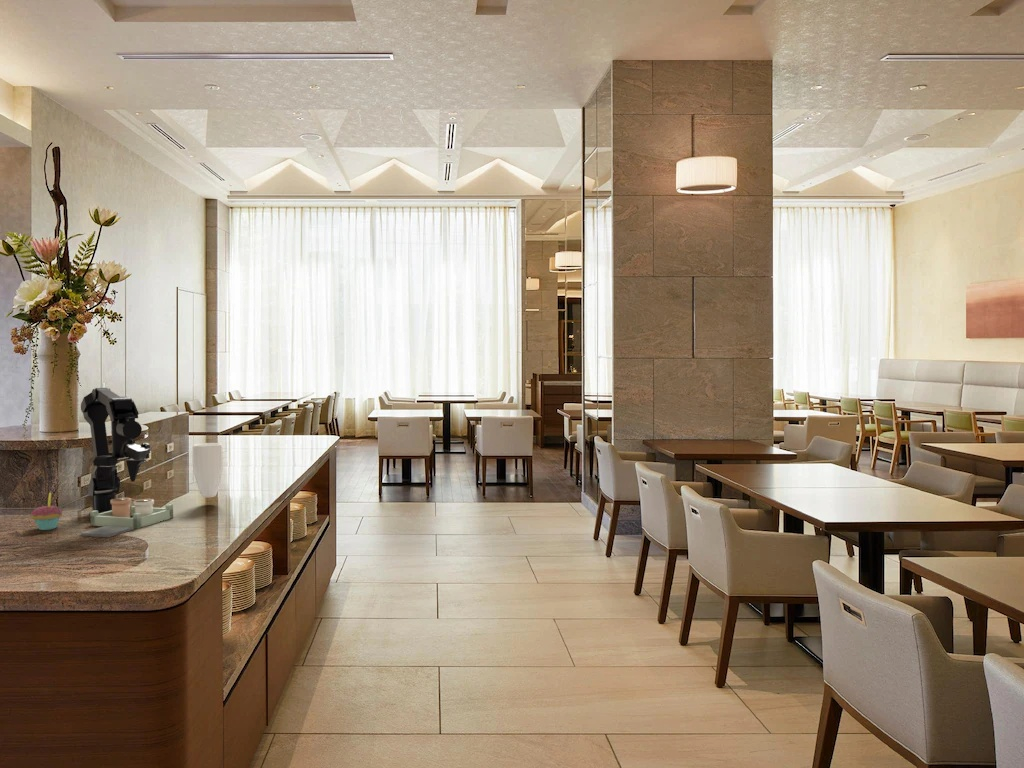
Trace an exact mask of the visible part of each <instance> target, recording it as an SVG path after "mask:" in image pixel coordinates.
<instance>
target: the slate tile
mask: <svg viewBox="0 0 1024 768" xmlns="http://www.w3.org/2000/svg"><path fill="white" fill-rule="evenodd" d="M133 530H134V528H133V527H120V526H98V527H97V528H93V529H89V530H86V531H83V532H80V536H82V537H94V538H95V537H96V538H110V537H111V538H112V537H114V536H117V535H120V534H124V533H128V532H131V531H133Z"/></svg>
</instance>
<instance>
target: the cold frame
mask: <svg viewBox="0 0 1024 768" xmlns="http://www.w3.org/2000/svg"><path fill="white" fill-rule="evenodd" d="M89 515H90V526H95V527H96V526H97V527H103V526H120V527H133V529H141V528H144V527H147V526H151V525H155V524H157V523H161V522H163V520H164V521H167V520H170V518H171V519H174V504H170V503H169V504H165V507H153V514H150V515H146V516H143V517H141V513H135V506H134V505H133V501H131V503H130V518H128V517H113V516H112V510H111V511H107V512H103V513H98V511H95V510H94V511H93V510H90V511H89ZM131 516H132V517H131ZM160 521H161V522H160Z"/></svg>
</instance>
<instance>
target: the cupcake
mask: <svg viewBox="0 0 1024 768" xmlns="http://www.w3.org/2000/svg"><path fill="white" fill-rule="evenodd" d="M47 498H48V501H47V505H42V506H39V507H36V508H35V509H33V510H32V511H31V513H30V516H29V517H30V518H31V520H33V521H35V524H36V526H37V528H38V530H39V531H40V530H41V531H43V530H44V531H46V530H47V531H48V530H49V531H50V530H54V529H56V528H57V527H58V523H59V521H60V518H61V516H63V510H62V509H61V508H59V506H56V505H51V501H52V491H51V490H50V491H49V493H48V497H47Z"/></svg>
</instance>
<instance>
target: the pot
mask: <svg viewBox="0 0 1024 768" xmlns="http://www.w3.org/2000/svg"><path fill="white" fill-rule="evenodd" d="M154 504H155V499H153V498H144V499H137V500H136V499H135V500H133V501H132V506H135V513H141V517H143V516H146V515H150V514H153V508H154Z"/></svg>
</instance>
